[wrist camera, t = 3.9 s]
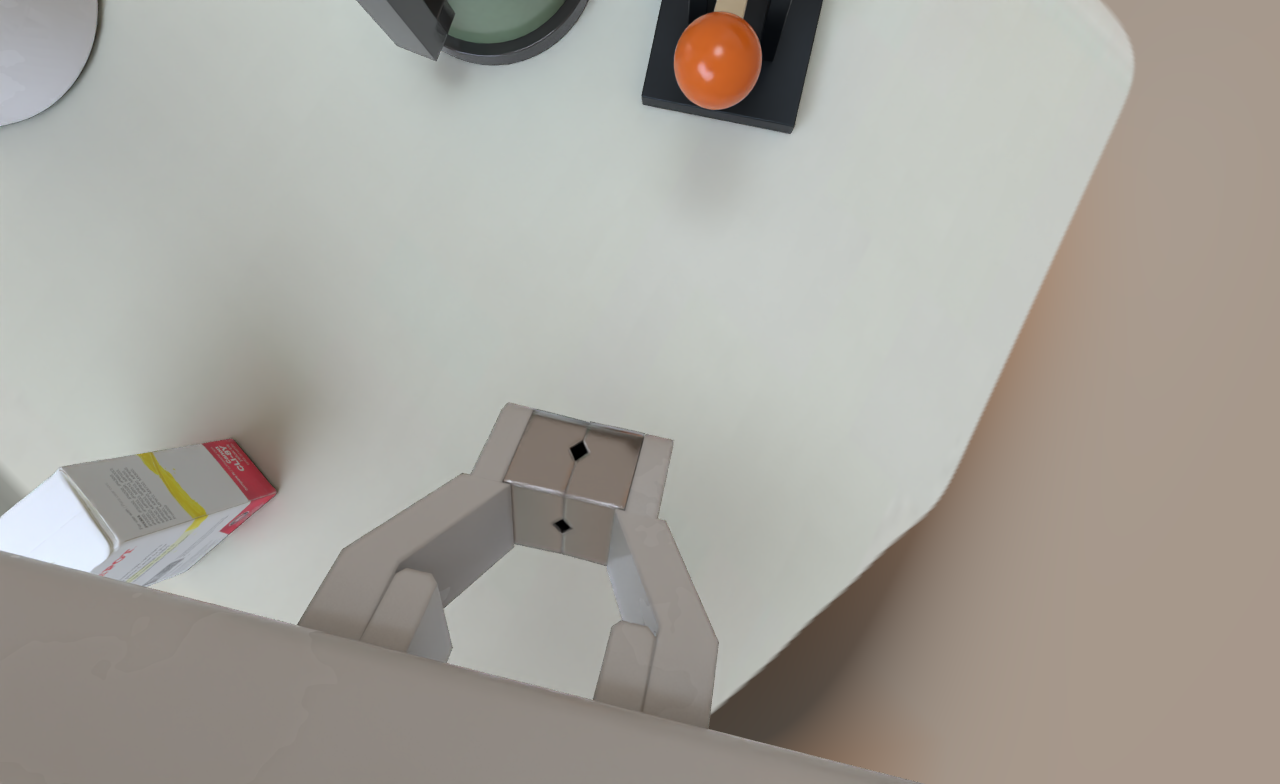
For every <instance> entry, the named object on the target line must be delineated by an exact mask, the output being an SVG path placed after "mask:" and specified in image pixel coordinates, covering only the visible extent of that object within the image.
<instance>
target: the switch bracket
mask: <svg viewBox="0 0 1280 784" xmlns="http://www.w3.org/2000/svg"><path fill="white" fill-rule="evenodd" d="M716 2H717V0H662V2H661V7H660V11H659V16H658V21H657V25H656V30H655V35H654V40H653V44H652V49H651V54H650V58H649V63H648V68H647V72H646V77H645V82H644V87H643V91H642V102H643V104H644V105H649V106H654V107H659V108H664V109H669V110H674V111H679V112H684V113H689V114H694V115H699V116H704V117H709V118H714V119H720V120H725V121H730V122H735V123H740V124H745V125H750V126H755V127H760V128H765V129H770V130H775V131H780V132H785V133H791V132H792V130H793V128H794V125H795V121H796V117H797V112H798V108H799V103H800V99H801V95H802V90H803V86H804V81H805V77H806V73H807V68H808V64H809V59H810V55H811V50H812V46H813V42H814V37H815V33H816V28H817V24H818V20H819V15H820V11H821V6H822V2H823V0H748V1H747V5H746V10H745V14H744V18H743V19H744V20H745V21H747V22H748V23H749V24H750V26H751V27H752V28H753V29H754V31H755V33H756V34H757V36H758V39H759V42H760V45H761V51H762V65H761V71H760V74H759V77H758V80H757V82H756V84H755V86H754V87H753V89H752V90H751V92H750V93H749V94H748V95H747V96H746V97H745V98H744V99H743V100H742V101H740V102H739V103H737V104H735V105H734V106H731V107H729V108H725V109H720V110H711V109H706V108H702V107H700V106H698V105H696V104H694V103H693V102H692V101H690V100H689V99H688V98H687V97H686V96H685V95H684V93H683V92H682V91H681V89H680V87H679V85H678V83H677V80H676V77H675V72H674V55H675V49H676V46H677V43H678V41H679V39H680V37H681V35H682V33H683V32H684V30H685V29H686V28H687V27H688V26H689V25H690V24H691V23H692V22H693V21H694V20H696V19H697V18H699V17H700V16H702V15H705V14H707V13H711V12H714V9H715V5H716Z"/></svg>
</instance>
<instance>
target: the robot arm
mask: <svg viewBox="0 0 1280 784" xmlns="http://www.w3.org/2000/svg"><path fill="white" fill-rule="evenodd" d="M97 18H98V0H0V126H3V125H8V124H12V123H16V122H19V121H23V120H26V119H28V118H30V117H33V116H35V115H37V114H39V113H40V112H42V111H44V110H45V109H47V108H48V107H50V106H51V105H52V104H54V103H55V102H56V101H57V100H59V99H60V98H61V97H62V96H63V95H64V94H65V93H66V92H67V91H68V89H69V88H70V87H71V86H72V85H73V83H74V82H75V80H76V79H77V78H78V76H79V74H80V73H81V71H82V69H83V67H84V66H85V63H86V61H87V59H88V57H89V54H90V51H91V49H92V45H93V42H94V38H95V33H96V27H97ZM673 441H674V440H671V439H666V438H662V437H657V436H653V435H649V434H645V433H642V432H637V431H633V430H628V429H623V428H619V427H614V426H609V425H605V424H600V423H595V422H591V421H590V422H586V421H582V420H578V419H574V418H570V417H567V416H563V415H559V414H555V413H551V412H547V411H543V410H539V409H535V408H530V407H526V406H522V405H518V404H514V403H509V402H508V403H507V404H506V405H505V406H504V407H503V408H502V410H501V412H500V414H499V416H498V418H497V420H496V422H495V424H494V426H493V429H492V431H491V433H490V435H489V437H488V439H487V441H486V443H485V445H484V447H483V449H482V451H481V453H480V455H479V458H478V460H477V462H476V464H475V466H474V468H473V470H472V472H471V474H465V473H461V474H460V475H458V476H457V477H455V478H453V479H452V480H450V481H449V482H447V483H446V484H444V485H442V486H441V487H439V488H438V489H436V490H435V491H433V492H431V493H430V494H428V495H427V496H425V497H424V498H422V499H420V500H419V501H417V502H416V503H414V504H413V505H411V506H409V507H408V508H406V509H405V510H403V511H402V512H400V513H398V514H397V515H395V516H394V517H392V518H391V519H389V520H387V521H386V522H384V523H383V524H381V525H380V526H378V527H376V528H375V529H373V530H372V531H370V532H369V533H367V534H365V535H364V536H362V537H361V538H359V539H358V540H356V541H354V542H353V543H351V544H350V545H348V546H347V547H345V548H343V549H342V551H341V552H340V554H339V556H338V557H337V559H336V561H335V562H334V564H333V566H332V567H331V569H330V571H329V572H328V574H327V576H326V577H325V579H324V581H323V582H322V584H321V586H320V587H319V589H318V591H317V592H316V594H315V596H314V597H313V599H312V601H311V602H310V604H309V606H308V607H307V609H306V611H305V612H304V614H303V616H302V617H301V619H300V621H299V622H298V624H297V625H294V624H291V623H287V622H283V621H279V620H275V619H271V618H267V617H263V616H259V615H255V614H251V613H247V612H243V611H239V610H235V609H231V608H227V607H223V606H219V605H215V604H211V603H207V602H203V601H199V600H195V599H192V598H188V597H184V596H180V595H176V594H172V593H168V592H164V591H160V590H156V589H152V588H148V587H144V586H140V585H136V584H132V583H128V582H124V581H120V580H116V579H112V578H108V577H104V576H100V575H97V574H93V573H89V572H85V571H81V570H77V569H73V568H69V567H65V566H61V565H57V564H53V563H49V562H45V561H41V560H37V559H33V558H29V557H25V556H21V555H17V554H13V553H9V552H5V551H2V550H0V784H923V783H919V782H915V781H911V780H907V779H903V778H899V777H895V776H891V775H887V774H883V773H879V772H875V771H871V770H868V769H864V768H860V767H856V766H852V765H848V764H844V763H840V762H836V761H832V760H828V759H824V758H820V757H816V756H812V755H808V754H804V753H800V752H796V751H793V750H788V749H784V748H781V747H777V746H773V745H769V744H765V743H761V742H757V741H752V740H749V739H745V738H741V737H737V736H733V735H729V734H725V733H721V732H717V731H713V730H710V729H708V728H709V720H710V712H711V704H712V695H713V687H714V678H715V670H716V661H717V653H718V644H719V642H718V639H717V637H716V635H715V633H714V630H713V628H712V626H711V623H710V621H709V619H708V616H707V614H706V612H705V610H704V607H703V605H702V603H701V600H700V598H699V596H698V593H697V591H696V589H695V587H694V584H693V582H692V580H691V577H690V575H689V573H688V571H687V568H686V566H685V564H684V561H683V559H682V557H681V554H680V552H679V550H678V548H677V545H676V543H675V541H674V538H673V536H672V534H671V531H670V529H669V527H668V525H667V522H666V521H665V520H661V519H658V514H659V510H660V505H661V500H662V496H663V491H664V486H665V482H666V477H667V472H668V468H669V463H670V458H671V454H672V449H673ZM514 544H517V545H522V546H526V547H531V548H536V549H540V550H545V551H550V552H555V553H559V554H563V555H567V556H571V557H575V558H578V559H582V560H586V561H589V562H593V563H597V564H601V565H604V566H607V571H608V575H609V578H610V581H611V585H612V588H613V591H614V595H615V598H616V601H617V605H618V608H619V612H620V615H621V618H622V620H621V621H620V622H618V623H617V624H615V625H613V626H612V628H611V632H610V636H609V640H608V644H607V647H606V651H605V655H604V659H603V663H602V667H601V671H600V675H599V679H598V682H597V686H596V690H595V694H594V698H593V700H591V699H587V698H583V697H579V696H575V695H571V694H567V693H563V692H559V691H555V690H552V689H548V688H544V687H540V686H536V685H532V684H528V683H524V682H520V681H516V680H512V679H508V678H504V677H500V676H496V675H492V674H488V673H484V672H480V671H476V670H472V669H469V668H465V667H461V666H457V665H453V664H449V663H447V661H448V659H449V656H450V653H451V651H452V648H453V647H452V643H451V639H450V635H449V630H448V626H447V622H446V618H445V614H444V610H443V608H445V607H446V606H447V605H448V604H449V603H450V602H452V601H453V600H454V599H455V598H456V597H457V596H458V595H460V594H461V593H462V592H463V591H464V590H465V589H466V588H468V587H469V586H470V585H471V584H472V583H473V582H474V581H476V580H477V579H478V578H479V577H480V576H481V575H483V574H484V573H485V572H486V571H487V570H488V569H489V568H491V567H492V566H493V565H494V564H495V563H496V562H497V561H499V560H500V559H501V558H502V557H503V556H504V555H505V554H507V553H508V552H509V551H510V550H511V549H512V548H513V547H514Z"/></svg>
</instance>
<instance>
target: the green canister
mask: <svg viewBox="0 0 1280 784" xmlns="http://www.w3.org/2000/svg"><path fill="white" fill-rule="evenodd" d="M356 1H357V2H358V3H359V4H360V5H361V6H362V7H363V8H364V10H365V11H366V12H367V13H368V14H369V15H370V16H371V17H372V19H373V20H374V21H375V22H376V23H377V24H378V25H379V26H380V27H381V29H382V30H383V31H384V32H385V33H386V34H387V35H388V36H389V37H390V39H391V40H392V41H393V42H394V43H395V44H396V45H397V46H399V47H401V48H404V49H406V50H409V51H411V52H414V53H416V54H419V55H421V56H424V57H426V58H429V59H431V60H434V61H437V59H438V56H439V54H440V51H441V50H442V51H444V52H445V53H447V54H449V55H451V56H454V57H456V58H458V59H461V60H464V61H467V62H471V63H477V64H482V65H502V64H510V63H515V62H519V61H523V60H525V59H528V58H531V57H533V56H535V55H537V54H539V53H541V52H543V51H545V50H546V49H548V48H549V47H551V46H552V45H553V44H555V43H556V42H557V41H559V40H560V39H561V38H562V37H563V36H564V35H565V34H566V33H567V32H568V31H569V30H570V28H571V27H572V26H573V25H574V23H575V22H576V21H577V19H578V18H579V16H580V14H581V13H582V11H583V10H584V8H585V6H586V3H587V1H588V0H356Z"/></svg>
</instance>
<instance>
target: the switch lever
mask: <svg viewBox="0 0 1280 784" xmlns="http://www.w3.org/2000/svg"><path fill="white" fill-rule="evenodd" d="M747 1H748V0H717V2H716V5H715V9H714V12H711V13H707V14H705V15H702V16H700V17H699V18H697V19H696V20H694V21H693V22H692V23H691V24H690V25H689V26H688V27H687V28H686V29H685V30H684V32H683V33H682V35H681V37H680V39H679V41H678V43H677V46H676V49H675V55H674V72H675V77H676V80H677V83H678V85H679V87H680V89H681V91H682V92H683V93H684V95H685V96H686V97H687V98H688V99H689V100H690V101H692V102H693V103H694V104H696V105H698V106H700V107H702V108H706V109H711V110H720V109H725V108H729V107H731V106H734V105H735V104H737V103H739V102H740V101H742V100H743V99H744V98H745V97H746V96H747V95H748V94H749V93H750V92H751V90H752V89H753V87H754V86H755V84H756V82H757V80H758V77H759V74H760V71H761V65H762V51H761V45H760V42H759V39H758V36H757V34H756V33H755V31H754V29H753V28H752V27H751V26H750V24H749V23H748V22H747V21H745V20H744V19H743V18H744V14H745V10H746V5H747Z"/></svg>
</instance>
